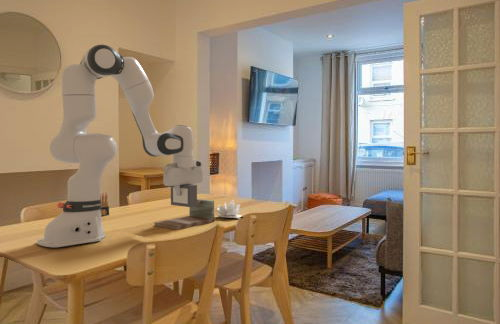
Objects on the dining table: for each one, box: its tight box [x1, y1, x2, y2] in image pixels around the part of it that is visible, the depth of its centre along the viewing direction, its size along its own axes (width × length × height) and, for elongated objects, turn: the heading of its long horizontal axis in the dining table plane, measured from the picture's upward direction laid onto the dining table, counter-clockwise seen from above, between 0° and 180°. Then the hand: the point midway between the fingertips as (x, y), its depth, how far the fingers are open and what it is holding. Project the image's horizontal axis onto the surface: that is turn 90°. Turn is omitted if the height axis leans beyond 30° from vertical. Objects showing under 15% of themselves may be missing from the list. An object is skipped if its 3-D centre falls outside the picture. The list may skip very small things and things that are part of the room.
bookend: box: [154, 198, 215, 231], centre depth 159 cm, size 22×14×10 cm, turn 144°
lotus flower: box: [214, 199, 244, 219], centre depth 175 cm, size 14×15×9 cm
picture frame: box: [170, 184, 198, 208], centre depth 158 cm, size 4×12×9 cm, turn 54°
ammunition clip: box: [100, 191, 110, 218], centre depth 173 cm, size 11×2×12 cm, turn 150°
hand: (183, 195), depth 158 cm, fingers closed on picture frame, 4 cm apart
